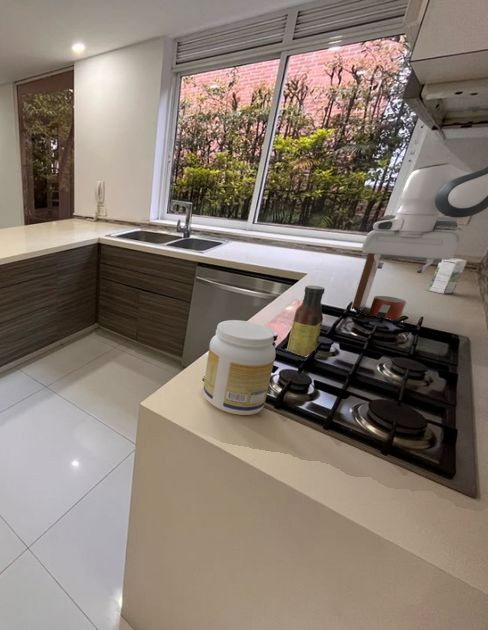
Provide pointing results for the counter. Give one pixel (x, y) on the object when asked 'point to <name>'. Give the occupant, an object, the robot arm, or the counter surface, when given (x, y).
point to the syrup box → (447, 275)
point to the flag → (370, 263)
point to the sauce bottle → (307, 322)
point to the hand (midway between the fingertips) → (398, 270)
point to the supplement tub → (239, 367)
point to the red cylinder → (387, 307)
